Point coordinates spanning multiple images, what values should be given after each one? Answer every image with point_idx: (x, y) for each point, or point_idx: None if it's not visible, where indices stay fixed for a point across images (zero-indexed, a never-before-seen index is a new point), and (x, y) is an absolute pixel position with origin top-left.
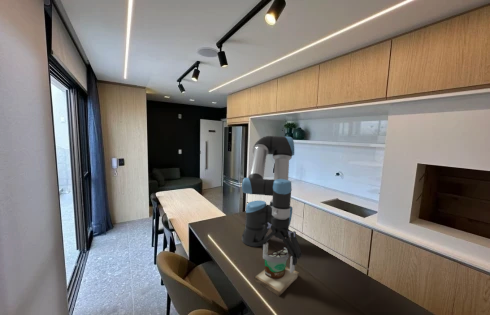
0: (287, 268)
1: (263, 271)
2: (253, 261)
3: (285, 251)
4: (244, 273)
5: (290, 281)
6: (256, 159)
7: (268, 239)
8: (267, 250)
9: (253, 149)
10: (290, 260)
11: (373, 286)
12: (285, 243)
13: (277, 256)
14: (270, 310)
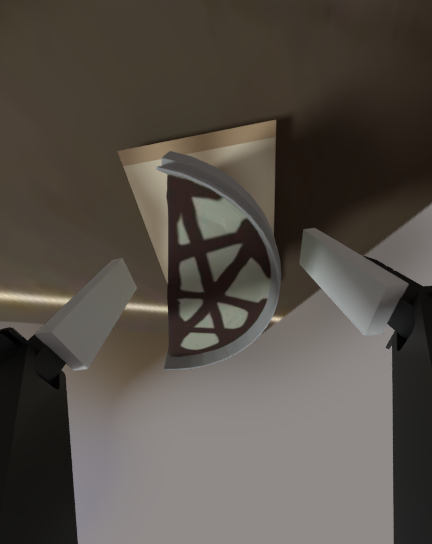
0: (210, 150)
1: (165, 267)
2: (67, 233)
3: (220, 214)
4: (131, 299)
5: (272, 217)
6: None
7: (54, 433)
8: (102, 286)
9: None
10: (345, 312)
11: None
12: (399, 529)
13: (225, 316)
14: (276, 322)
